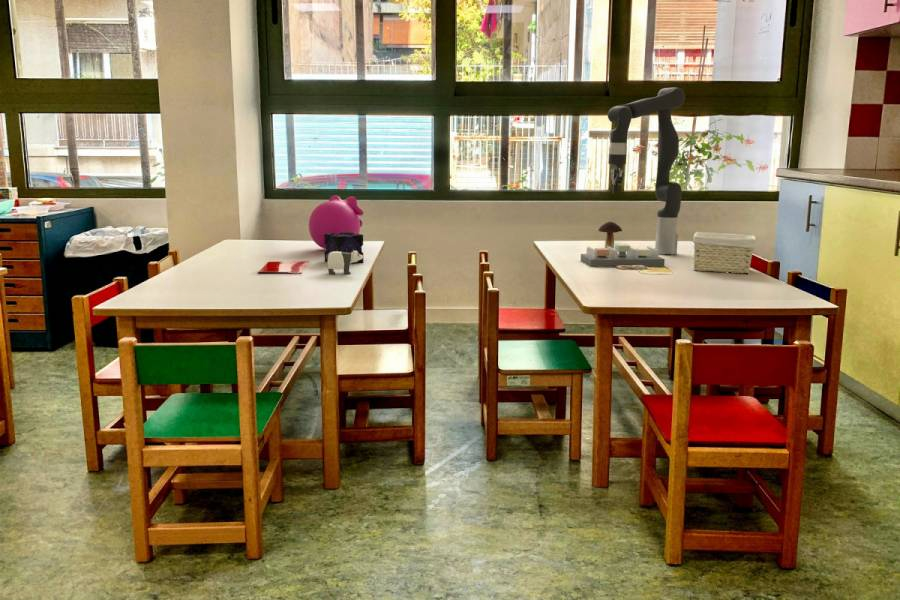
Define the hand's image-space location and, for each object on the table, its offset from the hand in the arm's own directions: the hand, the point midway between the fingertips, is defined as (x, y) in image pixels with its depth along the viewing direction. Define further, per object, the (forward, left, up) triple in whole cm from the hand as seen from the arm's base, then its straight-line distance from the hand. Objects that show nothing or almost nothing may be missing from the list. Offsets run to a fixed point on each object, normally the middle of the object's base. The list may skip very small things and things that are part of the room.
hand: (615, 193), depth 342 cm
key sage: (0, +14, -26) cm, 29 cm away
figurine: (+124, -28, -29) cm, 130 cm away
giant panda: (+118, +35, -29) cm, 127 cm away
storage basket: (-36, +33, -29) cm, 57 cm away
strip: (0, +27, -29) cm, 40 cm away
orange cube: (+9, +14, -27) cm, 32 cm away
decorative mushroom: (-3, -14, -29) cm, 33 cm away
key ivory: (-9, +14, -27) cm, 32 cm away
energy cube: (+119, +7, -29) cm, 123 cm away
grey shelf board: (0, +14, -29) cm, 32 cm away
